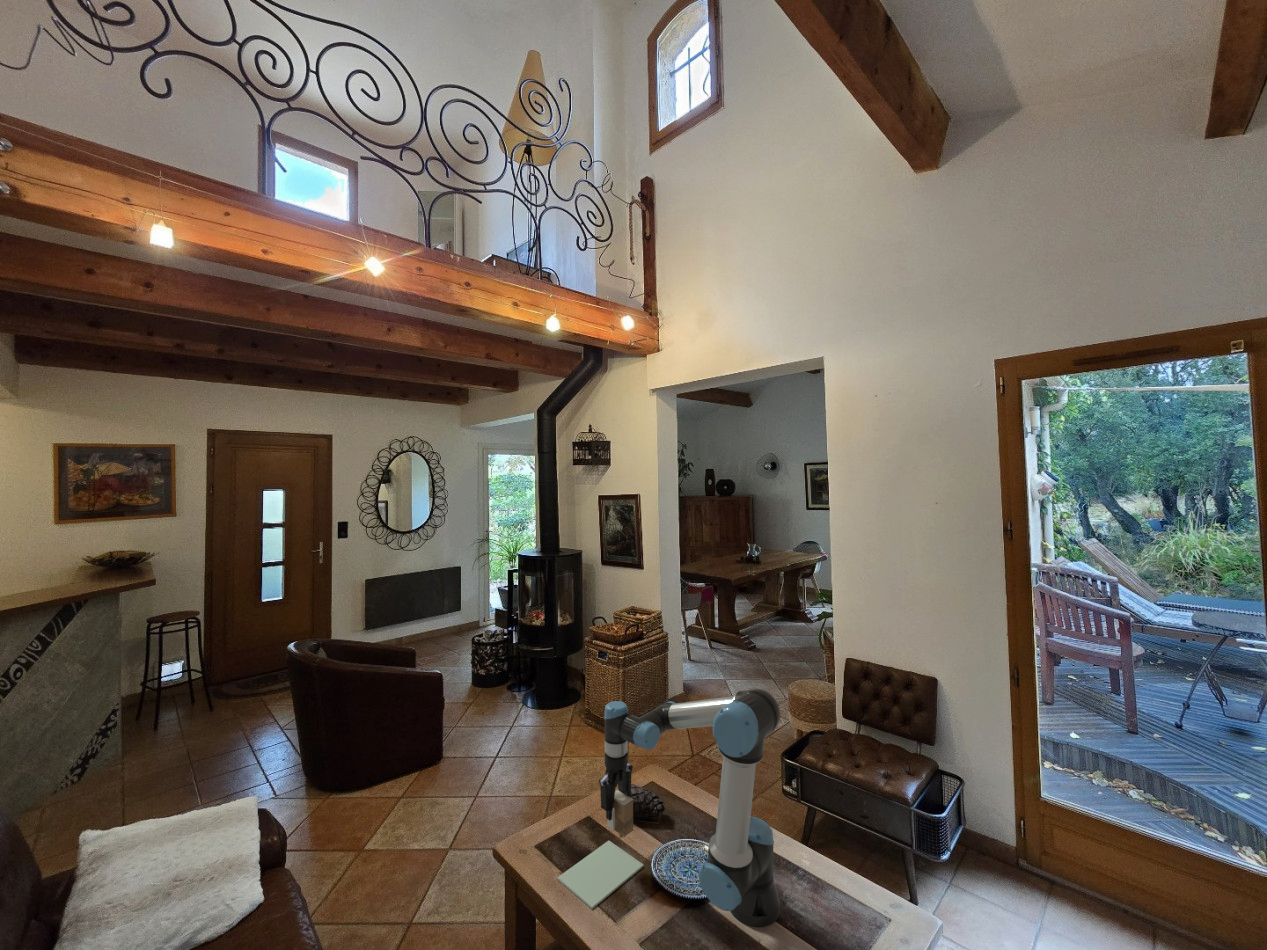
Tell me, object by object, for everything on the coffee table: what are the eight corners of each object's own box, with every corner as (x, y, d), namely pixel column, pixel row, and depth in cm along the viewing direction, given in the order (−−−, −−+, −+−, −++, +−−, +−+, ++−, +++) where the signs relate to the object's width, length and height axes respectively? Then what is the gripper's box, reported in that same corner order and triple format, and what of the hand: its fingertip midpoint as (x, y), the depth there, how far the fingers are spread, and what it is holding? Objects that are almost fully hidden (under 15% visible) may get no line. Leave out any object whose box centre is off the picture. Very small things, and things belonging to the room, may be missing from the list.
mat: (643, 866, 160) (643, 864, 160) (591, 909, 144) (591, 907, 144) (608, 842, 171) (608, 840, 171) (557, 879, 155) (557, 877, 155)
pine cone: (663, 827, 178) (663, 799, 179) (615, 819, 183) (615, 792, 183) (668, 808, 189) (668, 782, 189) (622, 802, 193) (622, 775, 193)
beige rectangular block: (633, 830, 161) (633, 798, 161) (624, 836, 158) (624, 804, 158) (617, 820, 165) (617, 789, 166) (609, 826, 163) (608, 795, 163)
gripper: (626, 738, 172) (626, 806, 172) (588, 758, 160) (588, 832, 159) (642, 746, 167) (642, 816, 167) (604, 767, 155) (605, 844, 154)
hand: (616, 824), depth 163 cm, fingers closed on beige rectangular block, 4 cm apart
